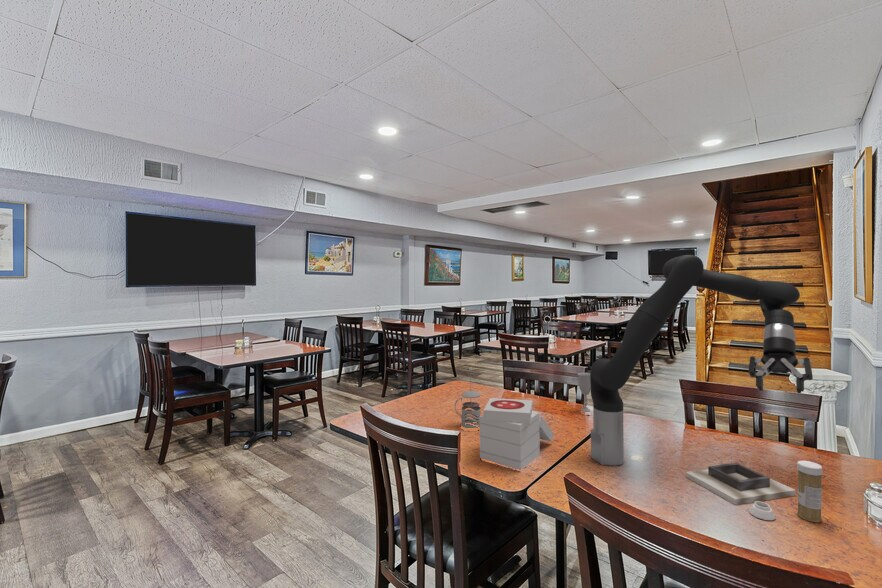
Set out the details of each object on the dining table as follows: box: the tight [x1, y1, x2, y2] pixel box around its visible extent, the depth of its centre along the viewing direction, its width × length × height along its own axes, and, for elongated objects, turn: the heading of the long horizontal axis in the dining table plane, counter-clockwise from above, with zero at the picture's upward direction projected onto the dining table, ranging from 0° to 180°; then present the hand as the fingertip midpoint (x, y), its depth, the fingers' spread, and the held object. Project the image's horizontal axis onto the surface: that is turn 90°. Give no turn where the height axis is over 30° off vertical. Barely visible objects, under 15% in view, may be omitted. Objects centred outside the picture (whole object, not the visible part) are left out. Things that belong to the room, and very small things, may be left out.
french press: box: [454, 366, 481, 428], centre depth 165 cm, size 10×12×25 cm
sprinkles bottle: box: [796, 460, 823, 523], centre depth 98 cm, size 5×5×14 cm
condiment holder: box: [685, 462, 797, 506], centre depth 115 cm, size 20×16×4 cm
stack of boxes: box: [479, 397, 554, 470], centre depth 140 cm, size 19×30×18 cm, turn 144°
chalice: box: [577, 372, 591, 412], centre depth 181 cm, size 7×7×18 cm
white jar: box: [749, 501, 776, 521], centre depth 100 cm, size 5×3×5 cm
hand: (779, 390), depth 116 cm, fingers open, 8 cm apart
